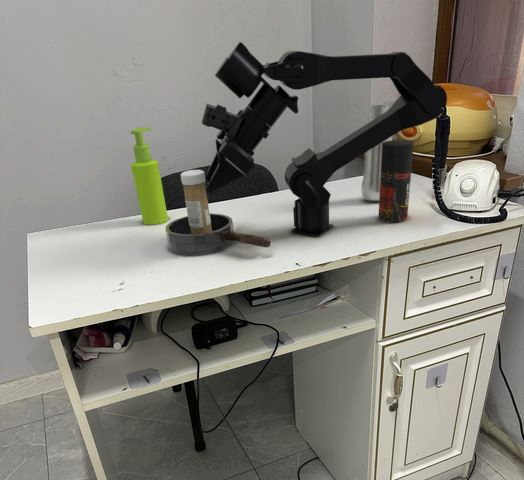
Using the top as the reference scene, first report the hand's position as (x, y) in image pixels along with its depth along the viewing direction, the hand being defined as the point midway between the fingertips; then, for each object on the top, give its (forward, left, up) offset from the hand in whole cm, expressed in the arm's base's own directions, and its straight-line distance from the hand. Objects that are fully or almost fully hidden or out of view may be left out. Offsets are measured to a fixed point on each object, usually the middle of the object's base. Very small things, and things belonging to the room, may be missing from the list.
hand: (207, 185), depth 94 cm
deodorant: (-27, -27, -11) cm, 40 cm away
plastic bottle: (-18, -38, -11) cm, 43 cm away
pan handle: (-10, +2, -9) cm, 14 cm away
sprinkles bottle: (+2, +2, -11) cm, 11 cm away
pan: (+2, +2, -11) cm, 11 cm away
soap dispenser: (+23, -6, -11) cm, 26 cm away
